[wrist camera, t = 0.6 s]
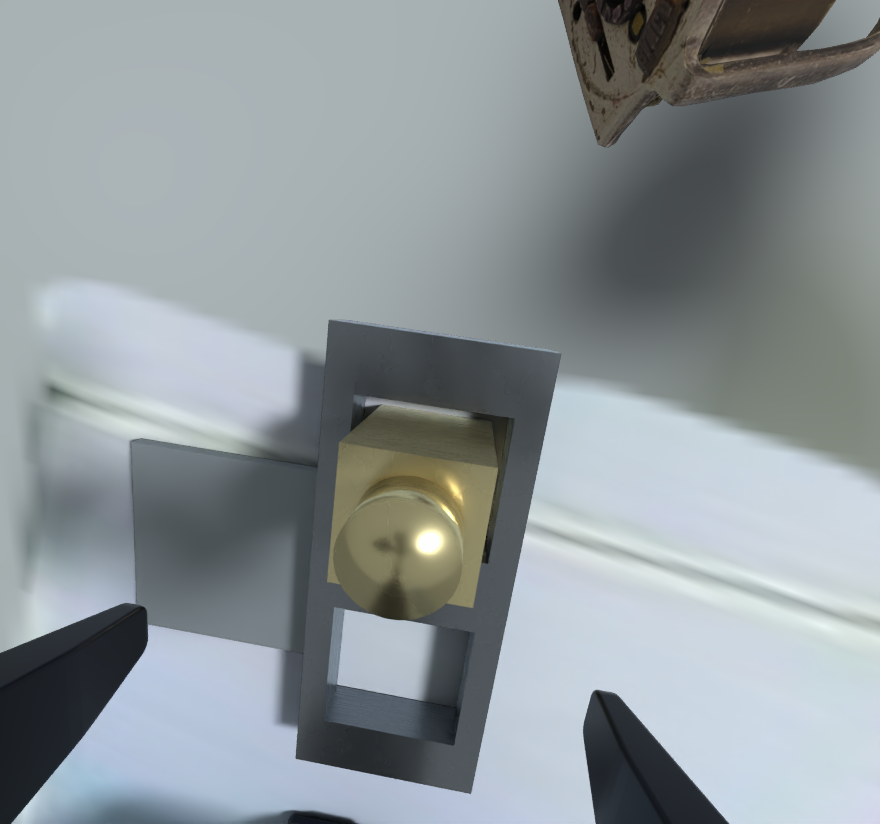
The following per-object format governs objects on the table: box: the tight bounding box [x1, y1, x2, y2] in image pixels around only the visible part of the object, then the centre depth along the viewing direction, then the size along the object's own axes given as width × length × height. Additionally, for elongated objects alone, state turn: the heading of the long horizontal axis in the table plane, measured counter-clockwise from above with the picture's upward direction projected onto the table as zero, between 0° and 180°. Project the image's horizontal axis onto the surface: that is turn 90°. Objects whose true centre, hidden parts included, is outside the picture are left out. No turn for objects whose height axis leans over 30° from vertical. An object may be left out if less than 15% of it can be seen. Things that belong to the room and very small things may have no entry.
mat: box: [131, 439, 318, 654], centre depth 21 cm, size 10×10×1 cm
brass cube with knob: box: [327, 404, 498, 620], centre depth 15 cm, size 5×5×8 cm
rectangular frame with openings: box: [296, 320, 561, 794], centre depth 19 cm, size 22×9×2 cm, turn 172°
